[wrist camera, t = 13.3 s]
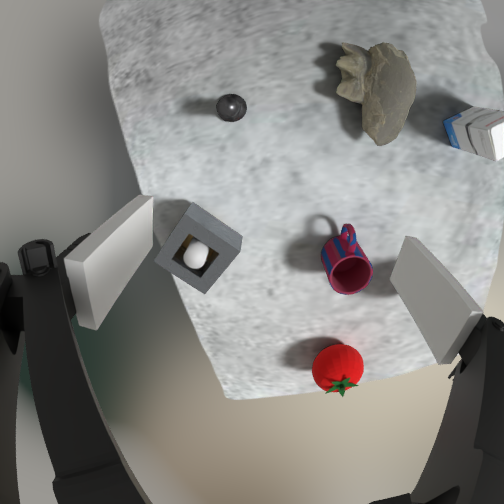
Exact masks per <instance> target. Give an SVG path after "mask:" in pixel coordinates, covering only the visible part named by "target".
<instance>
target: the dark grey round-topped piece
mask: <svg viewBox="0 0 504 504" xmlns="http://www.w3.org/2000/svg"><path fill="white" fill-rule="evenodd" d="M216 108H217V112H218V114H219V116H220V117H221V118H222V119H223V120H225V121H228V122H235V121H238V120H240V119H241V118H243V117H244V115H245V113H246V110H247V105H246V102H245V101H244V99H243V98H242V97H240V96H238V95H236V94H229V95H226V96H224V97H223V98H221V99H220V100H219V101H218V103H217V106H216Z"/></svg>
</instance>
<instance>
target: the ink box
mask: <svg viewBox="0 0 504 504" xmlns="http://www.w3.org/2000/svg"><path fill="white" fill-rule="evenodd" d="M443 123H444V126H445V129H446V132H447V134H448V137H449V140H450V143H451V146H452V147H454V148H458V149H461V150H464V151H467V152H470V153H473V154H476V155H479V156H482V157H485V158H488V159H490V160H493V161H498V160H499V159H501V158H503V157H504V111H499V110H493V109H487V108H480V107H472V108H470V109H468V110H465V111H463V112H461V113H459V114H457V115H455V116H453V117H451V118H449V119H446V120H444V121H443Z"/></svg>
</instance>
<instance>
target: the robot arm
mask: <svg viewBox="0 0 504 504" xmlns="http://www.w3.org/2000/svg"><path fill="white" fill-rule="evenodd" d="M152 247H153V196H146V195H138V196H137V197H136V198H134V199H133V200H132V201H130V202H129V203H128V204H127V205H125V206H124V207H123V208H122V209H120V210H119V211H118V212H117V213H115V214H114V215H113V216H112V217H111V218H110V219H108V220H107V221H106V222H105V223H104V224H102V225H101V226H100V227H99V228H98V229H96V230H95V231H94V232H93V233H88V234H86V235H83V236H81V237H79V238H78V239H77V240H76V241H74V242H73V243H72V245H70V246H69V247H68V248H67V249H66V250H64V251H63V252H62V253H61V254H60V255H59V256H57V257H56V256H55V251H54V245H53V243H52V242H51V241H49V240H44V239H40V240H34V241H31V242H28V243H26V244H24V245H23V246H22V247H21V248H20V249H19V251H18V256H19V260H20V264H21V268H22V272H23V275H11V274H10V271H9V267H8V265H7V264H5V263H3V262H0V504H20V499H19V491H18V482H17V469H16V444H15V442H16V438H15V437H16V409H17V395H18V385H19V376H20V369H21V362H22V355H23V350H24V344H25V342H26V351H27V359H28V367H29V374H30V379H31V385H32V391H33V396H34V401H35V406H36V410H37V414H38V418H39V422H40V426H41V430H42V434H43V437H44V441H45V444H46V447H47V450H48V453H49V456H50V459H51V462H52V465H53V468H54V471H55V479H54V481H53V482H52V483H53V490H54V494H55V497H56V499H57V502H58V504H152V502H151V501H150V499H149V498H148V496H147V495H146V493H145V492H144V491H143V489H142V487H141V486H140V484H139V482H138V481H137V479H136V477H135V476H134V474H133V472H132V470H131V469H130V467H129V465H128V463H127V461H126V460H125V458H124V456H123V454H122V452H121V450H120V448H119V446H118V444H117V442H116V440H115V438H114V436H113V434H112V432H111V430H110V428H109V426H108V424H107V421H106V419H105V417H104V414H103V412H102V410H101V408H100V405H99V403H98V400H97V398H96V395H95V393H94V390H93V388H92V385H91V382H90V380H89V377H88V374H87V371H86V368H85V366H84V363H83V359H82V356H81V353H80V350H79V347H78V344H77V340H76V337H75V333H74V330H73V326H72V323H71V319H72V318H73V316H74V315H75V314H76V315H77V319H78V322H79V325H80V326H83V327H87V328H90V329H94V330H97V329H98V328H99V326H100V324H101V323H102V321H103V319H104V318H105V316H106V315H107V313H108V312H109V310H110V309H111V307H112V305H113V304H114V302H115V301H116V299H117V298H118V296H119V295H120V293H121V292H122V290H123V289H124V287H125V286H126V284H127V282H128V281H129V279H130V278H131V277H132V275H133V274H134V272H135V271H136V269H137V268H138V267H139V265H140V264H141V262H142V261H143V259H144V258H145V257H146V255H147V254H148V253H149V251H150V250H151V248H152ZM389 280H390V281H391V283H392V284H393V286H394V288H395V289H396V291H397V292H398V294H399V296H400V297H401V299H402V300H403V302H404V304H405V305H406V307H407V309H408V310H409V312H410V314H411V316H412V317H413V319H414V321H415V322H416V324H417V326H418V328H419V329H420V331H421V333H422V335H423V337H424V338H425V340H426V342H427V344H428V346H429V347H430V349H431V351H432V353H433V355H434V357H435V359H436V361H437V363H438V364H451V363H452V361H453V360H454V358H455V357H456V356H457V354H458V353H459V354H460V356H461V358H462V359H461V360H460V361H459V363H458V364H457V366H456V367H455V368H454V370H453V371H452V372H451V374H450V375H449V377H448V378H449V379H450V378H451V376H454V375H455V376H454V379H453V385H452V389H451V392H450V396H449V400H448V403H447V407H446V410H445V414H444V417H443V420H442V423H441V426H440V429H439V432H438V435H437V438H436V440H435V443H434V446H433V448H432V451H431V453H430V456H429V458H428V461H427V463H426V466H425V468H424V470H423V472H422V475H421V477H420V479H419V481H418V484H417V485H416V487H415V489H414V490H413V492H412V493H411V494H410V493H407V494H404V495H400V496H396V497H391V498H387V499H383V500H378V501H373V502H371V503H369V504H504V323H503V322H502V321H501V320H499V319H497V318H495V317H488V318H486V317H485V315H484V314H483V310H482V309H481V308H480V307H479V305H478V304H477V303H476V302H475V301H474V299H473V298H472V297H471V296H470V295H469V294H468V292H467V291H466V290H465V289H464V288H463V287H462V285H461V284H460V283H459V282H458V281H457V280H456V279H455V277H454V276H453V275H452V274H451V273H450V272H449V271H448V270H447V269H446V268H445V267H444V265H443V264H442V263H441V262H440V261H439V260H438V259H437V258H436V257H435V256H434V255H433V254H432V253H431V252H430V251H429V250H428V249H427V248H426V247H425V246H424V245H423V244H422V243H421V242H420V241H419V240H418V239H417V238H415V237H410V236H405V239H404V242H403V245H402V248H401V250H400V253H399V256H398V258H397V261H396V264H395V266H394V269H393V271H392V274H391V276H390V279H389Z"/></svg>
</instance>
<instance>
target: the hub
mask: <svg viewBox="0 0 504 504" xmlns="http://www.w3.org/2000/svg"><path fill="white" fill-rule="evenodd" d="M181 245H182V246H184V247H185V248H187V250H186V252H185V254H184V262H185V264H186V265H187V266H189V267H190V268H194V269H197V268H200V267H202V266H203V265H204V263H205V260H208V259H209V257H210V256H211V255H212V253H213V252H214V251H215V250H213V249H212V248H210V247H209V246H207V245H206V244H204V243H203V242H201V241H200V240H198V239H197V238H195V237H194V236H192V235H191V234H188V236H187V237H186V239H185V240H184V241H183V243H182V244H181Z"/></svg>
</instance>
